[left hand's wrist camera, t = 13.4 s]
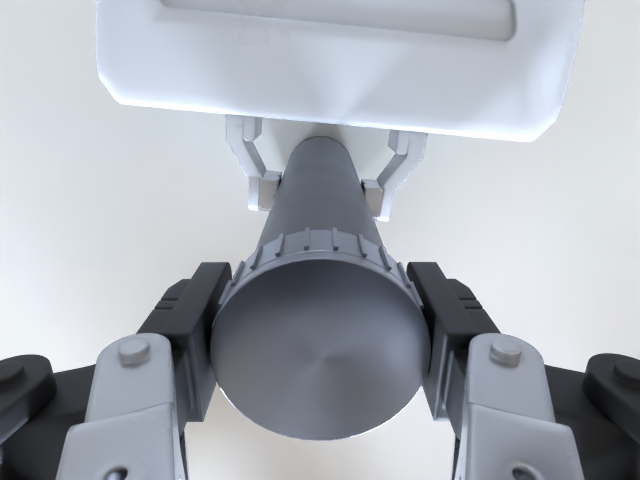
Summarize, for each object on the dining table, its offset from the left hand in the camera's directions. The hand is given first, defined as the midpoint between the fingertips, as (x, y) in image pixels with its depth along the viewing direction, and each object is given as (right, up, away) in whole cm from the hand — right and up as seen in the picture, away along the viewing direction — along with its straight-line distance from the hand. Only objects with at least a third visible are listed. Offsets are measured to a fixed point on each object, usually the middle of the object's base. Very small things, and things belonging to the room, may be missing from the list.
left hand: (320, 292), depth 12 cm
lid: (0, -1, -2) cm, 3 cm away
